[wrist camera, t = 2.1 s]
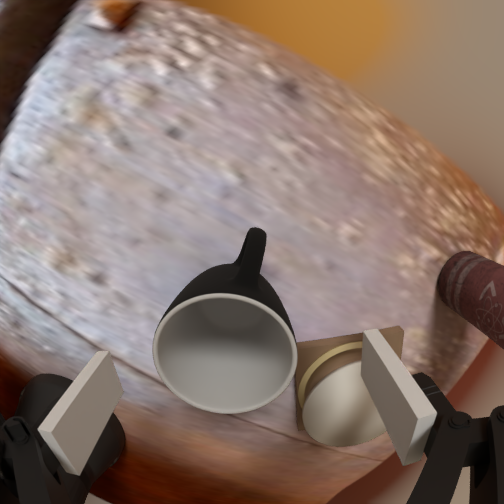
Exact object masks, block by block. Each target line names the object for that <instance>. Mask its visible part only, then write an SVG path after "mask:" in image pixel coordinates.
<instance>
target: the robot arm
mask: <svg viewBox="0 0 504 504" xmlns="http://www.w3.org/2000/svg"><path fill="white" fill-rule="evenodd" d="M360 375H361V377H362V379H363V381H364V383H365V386H366V388H367V390H368V392H369V394H370V396H371V398H372V400H373V402H374V404H375V406H376V408H377V410H378V413H379V415H380V417H381V419H382V421H383V423H384V425H385V427H386V430H387V432H388V434H389V436H390V438H391V440H392V443H393V445H394V447H395V449H396V451H397V454H398V456H399V458H400V460H401V462H402V465H403V466H405V465H408V464H411V463H414V462H417V461H420V460H421V457H422V455H423V452H425V454H426V456H427V461H426V463H425V465H424V468H423V470H422V472H421V474H420V477H419V479H418V481H417V483H416V485H415V487H414V489H413V491H412V493H411V495H410V498H409V499H408V501H407V503H406V504H450V502H451V499H452V497H453V494H454V491H455V488H456V485H457V482H458V479H459V476H460V473H461V470H462V467H468V466H470V500H469V504H504V405H503V406H498V407H496V408H495V409H493V411H492V413H491V415H490V417H484V418H476V419H472V418H471V416H469V415H468V414H467V413H464V412H459V411H456V410H455V409H454V408H453V407H452V405H451V404H450V402H449V401H448V400H447V398H446V397H445V396H444V394H443V393H442V392H440V389H439V388H438V387H437V386H436V384H435V383H434V381H433V380H432V379H431V378H430V377H429V376H427V375H425V374H424V373H422V372H421V373H417V374H413V375H411V374H410V373H409V371H408V370H407V369H406V367H405V366H404V364H403V363H402V362H401V360H400V359H399V358H398V356H397V355H396V353H395V352H394V351H393V349H392V348H391V347H390V345H389V344H388V342H387V341H386V340H385V338H384V337H383V336H382V334H381V333H380V332H379V330H378V329H372V330H366V331H363V343H362V360H361V374H360ZM123 392H124V391H123V388H122V386H121V383H120V380H119V378H118V375H117V372H116V369H115V367H114V364H113V361H112V358H111V355H110V352H109V351H97V352H96V354H95V355H94V356H93V357H92V359H91V360H90V361H89V362H88V364H87V365H86V366H85V367H84V369H83V370H82V371H81V372H80V374H79V375H78V376H77V377H76V379H75V380H74V381H72V380H70V379H67V378H65V377H62V376H59V375H55V374H40V375H37V376H35V377H33V378H32V379H31V380H30V381H29V382H28V383H27V385H26V386H25V387H24V388H23V390H22V392H21V394H20V398H19V403H18V406H17V409H16V411H15V414H14V417H12V418H9V419H8V420H5V419H4V417H3V416H2V414H1V413H0V504H84V503H85V500H86V497H87V495H88V493H89V490H90V488H91V486H92V484H93V483H94V482H95V481H96V480H97V479H98V478H99V477H100V476H101V475H102V474H103V473H104V472H105V471H106V470H107V469H108V468H109V467H110V466H112V465H113V464H114V463H116V461H117V460H118V459H119V457H120V455H121V452H122V450H123V447H124V444H125V436H124V432H123V429H122V427H121V425H120V423H119V421H118V419H117V418H116V416H115V415H114V414H113V411H114V409H115V407H116V405H117V403H118V401H119V400H120V398H121V396H122V394H123Z"/></svg>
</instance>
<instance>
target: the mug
mask: <svg viewBox="0 0 504 504" xmlns="http://www.w3.org/2000/svg"><path fill="white" fill-rule="evenodd" d="M265 246H266V233H265V231H263V230H262V229H260V228H256V227H255V228H250V229H249V231H248V233H247V235H246V238H245V241H244V243H243V246H242V249H241V252H240V254H239V256H238V258H237V260H236V261H235V262H234V263H232V264H222V265H218V266H215V267H212V268H210V269H208V270H206V271H204V272H203V273H201V274H200V275H198V276H197V277H196V278H194V279H193V280H192V281H191V282H190V283H189V284H188V285H187V286H186V287H185V288H184V289H183V290H182V291H181V292H180V294H179V295H178V296H177V297H176V298H175V300H174V301H173V302H172V304H171V305H170V306H169V308H168V309H167V311H166V312H165V314H164V315H163V317H162V319H161V321H160V323H159V325H158V327H157V329H156V332H155V335H154V339H153V359H154V364H155V367H156V369H157V372H158V374H159V376H160V377H161V379H162V381H163V382H164V383H165V385H166V386H167V387H168V388H169V389H170V390H171V391H172V392H173V393H174V394H175V395H176V396H177V397H179V398H180V399H182V400H183V401H185V402H186V403H188V404H190V405H192V406H194V407H197V408H199V409H202V410H205V411H209V412H214V413H222V414H236V413H243V412H248V411H252V410H255V409H258V408H260V407H263V406H265V405H267V404H268V403H270V402H272V401H273V400H275V399H276V398H277V397H278V396H279V395H280V394H281V393H283V391H284V390H285V389H286V388H287V387H288V385H289V384H290V382H291V380H292V378H293V376H294V373H295V370H296V367H297V359H298V351H297V344H296V339H295V335H294V331H293V328H292V326H291V323H290V320H289V317H288V315H287V313H286V311H285V308H284V306H283V304H282V302H281V300H280V299H279V297H278V295H277V294H276V292H275V290H274V289H273V288H272V286H271V285H270V284H269V282H268V281H267V280H266V279H265V278H264V277H263V276H262V275H260V274H259V273H260V269H261V265H262V261H263V256H264V252H265Z"/></svg>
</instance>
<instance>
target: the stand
mask: <svg viewBox="0 0 504 504" xmlns="http://www.w3.org/2000/svg"><path fill="white" fill-rule="evenodd" d="M379 332H380V333H381V334H382V336H383V337H384V338H385V340H386V341H387V342H388V344H389V345H390V347H391V348H392V349H393V351H394V352H395V353H396V355H397V356H398V358H399V359H400V360H401V354H402V346H403V337H404V330H403V329H402V328H401V327H400V326H396V327H391V328H385V329H380V330H379ZM362 343H363V333H358V334H352V335H346V336H340V337H333V338H327V339H320V340H313V341H306V342H298V343H296V344H297V351H298V359H297V367H296V370H295V387H296V407H297V425H298V431H299V430H306V431H307V433H308V434H309V435H310V436H311V437H312V438H313V439H314V440H316V441H318V442H319V443H322V444H325V445H329V446H336V447H345V446H353V445H358V444H361V443H364V442H367V441H370V440H372V439H374V438H376V437H378V436H380V435H381V434H383V433H384V432H386V431H387V430H386V427H385V425H384V423H383V421H382V419H381V417H380V415H379V413H378V410H377V408H376V406H375V404H374V402H373V400H372V398H371V396H370V394H369V392H368V390H367V388H366V386H365V383H364V381H363V379H362V377H361V375H360V374H361V360H362Z"/></svg>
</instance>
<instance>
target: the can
mask: <svg viewBox="0 0 504 504" xmlns="http://www.w3.org/2000/svg"><path fill="white" fill-rule="evenodd" d="M439 293H440V296H441V298H442V301H443V302H444V303H445V304H446V305H447V306H449V307H450V308H451V309H453V310H454V311H455V312H457V313H458V314H459V315H461V316H462V317H463V318H465V319H466V320H467V321H468V322H470V323H471V324H472V325H474V326H475V327H476V328H478V329H479V330H480V331H481V332H483V333H484V334H485V335H486V336H488V337H489V338H490V339H492V340H493V341H494V342H495V343H496V344H498V345H499V346H500V347H502V348H503V349H504V266H503V265H501V264H498V263H496V262H494V261H492V260H489V259H487V258H485V257H482V256H480V255H478V254H475V253H473V252H471V251H462V252H459V253H457V254H455V255H454V256H452V257H451V258H450V259H449V260H448V261H447V262H446V264H445V265H444V267H443V269H442V271H441V274H440V278H439Z"/></svg>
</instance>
